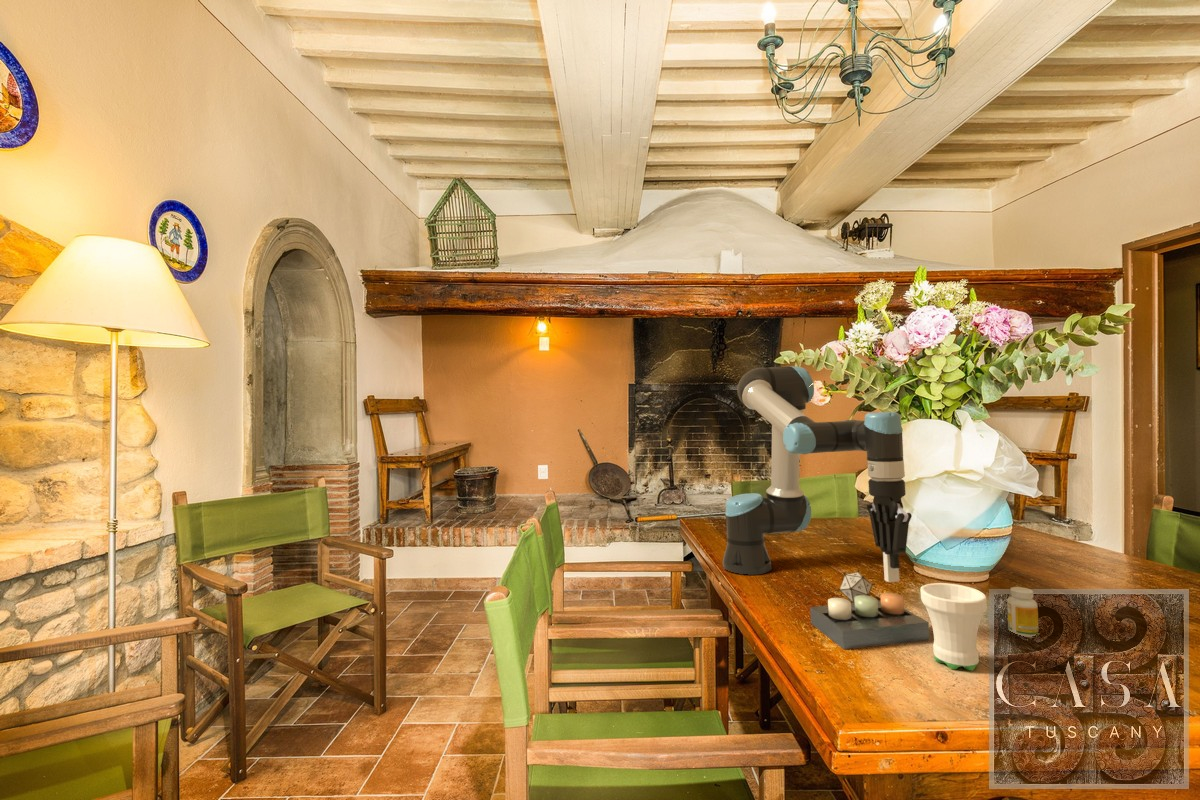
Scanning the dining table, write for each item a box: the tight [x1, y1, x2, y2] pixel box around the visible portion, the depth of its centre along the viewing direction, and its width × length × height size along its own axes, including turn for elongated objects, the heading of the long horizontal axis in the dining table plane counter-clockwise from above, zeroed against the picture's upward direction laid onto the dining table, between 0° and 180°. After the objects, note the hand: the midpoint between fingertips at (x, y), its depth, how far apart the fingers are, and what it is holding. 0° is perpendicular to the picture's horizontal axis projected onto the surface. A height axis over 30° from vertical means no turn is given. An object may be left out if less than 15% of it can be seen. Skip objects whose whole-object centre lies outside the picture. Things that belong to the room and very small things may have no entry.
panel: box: [809, 599, 930, 650], centre depth 125 cm, size 14×20×4 cm
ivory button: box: [827, 597, 852, 620], centre depth 124 cm, size 5×5×3 cm
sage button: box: [854, 595, 879, 617], centre depth 125 cm, size 5×5×3 cm
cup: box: [920, 582, 988, 672], centre depth 109 cm, size 11×11×14 cm
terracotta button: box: [879, 592, 906, 614], centre depth 126 cm, size 5×5×3 cm
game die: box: [836, 569, 876, 603], centre depth 143 cm, size 9×8×10 cm
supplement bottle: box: [1006, 586, 1040, 638], centre depth 121 cm, size 5×5×10 cm
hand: (892, 580), depth 125 cm, fingers closed
